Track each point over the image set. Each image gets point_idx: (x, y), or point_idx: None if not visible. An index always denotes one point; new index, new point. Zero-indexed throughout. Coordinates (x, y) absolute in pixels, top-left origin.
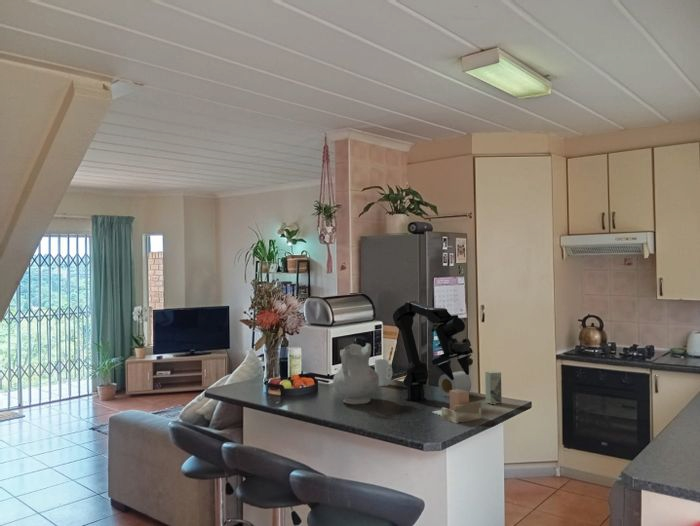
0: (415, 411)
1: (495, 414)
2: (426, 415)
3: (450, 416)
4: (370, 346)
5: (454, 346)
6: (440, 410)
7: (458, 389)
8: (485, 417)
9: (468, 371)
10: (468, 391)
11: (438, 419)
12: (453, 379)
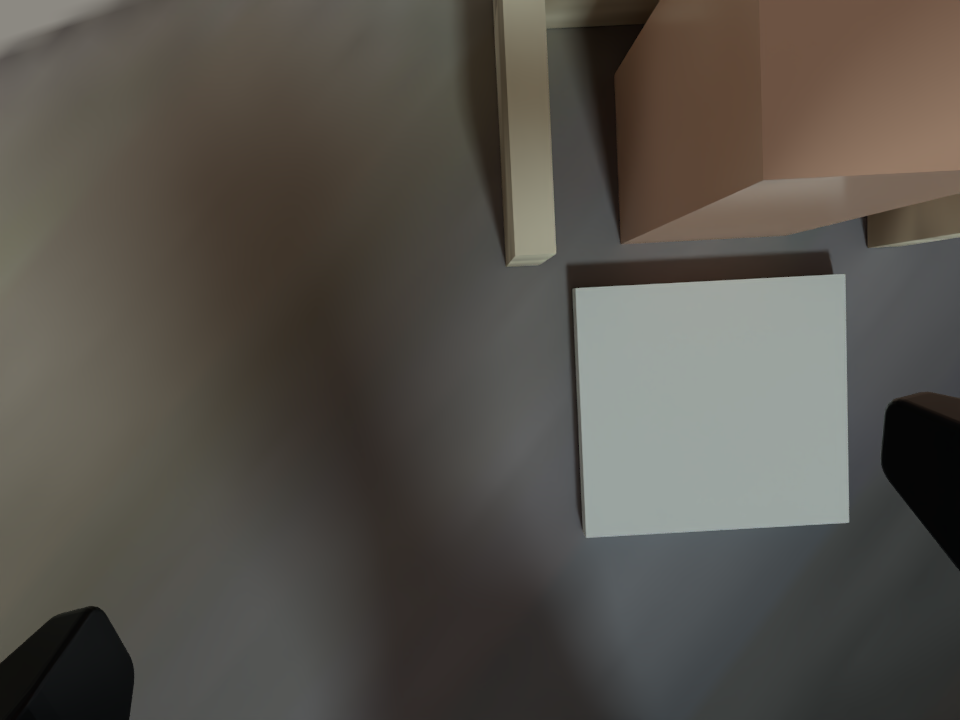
0: (947, 695)
1: (216, 46)
2: None
3: None
4: None
5: None
6: (725, 515)
7: (826, 145)
8: (419, 2)
9: (11, 672)
10: None
11: (950, 244)
12: (909, 397)
